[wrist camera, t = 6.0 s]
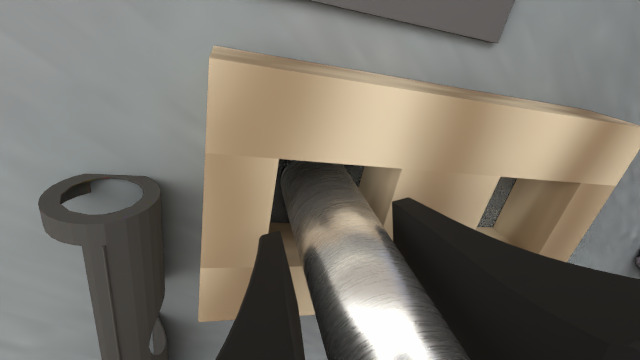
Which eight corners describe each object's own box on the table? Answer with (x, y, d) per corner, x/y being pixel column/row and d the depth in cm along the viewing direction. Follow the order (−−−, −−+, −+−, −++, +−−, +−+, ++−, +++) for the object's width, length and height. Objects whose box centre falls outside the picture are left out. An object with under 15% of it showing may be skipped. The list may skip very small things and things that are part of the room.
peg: (343, 144, 14) (514, 376, 6) (346, 201, 16) (484, 445, 7) (275, 158, 14) (354, 430, 5) (285, 214, 15) (359, 492, 7)
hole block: (587, 110, 17) (652, 129, 14) (503, 263, 21) (541, 300, 18) (214, 45, 11) (209, 57, 9) (203, 269, 16) (198, 321, 13)
